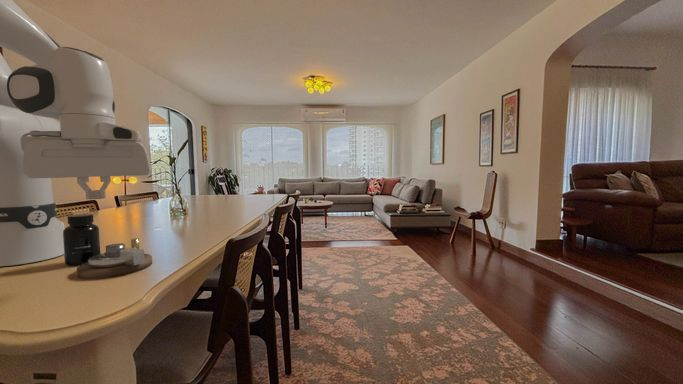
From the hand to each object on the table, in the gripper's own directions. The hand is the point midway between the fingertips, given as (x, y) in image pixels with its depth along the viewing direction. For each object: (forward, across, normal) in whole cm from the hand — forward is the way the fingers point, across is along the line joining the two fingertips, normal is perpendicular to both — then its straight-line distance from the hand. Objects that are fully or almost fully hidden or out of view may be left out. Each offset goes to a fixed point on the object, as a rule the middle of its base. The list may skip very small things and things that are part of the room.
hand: (96, 198), depth 61 cm
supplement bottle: (+17, -7, +16) cm, 25 cm away
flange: (+15, +2, +5) cm, 16 cm away
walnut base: (+17, +1, +6) cm, 18 cm away
